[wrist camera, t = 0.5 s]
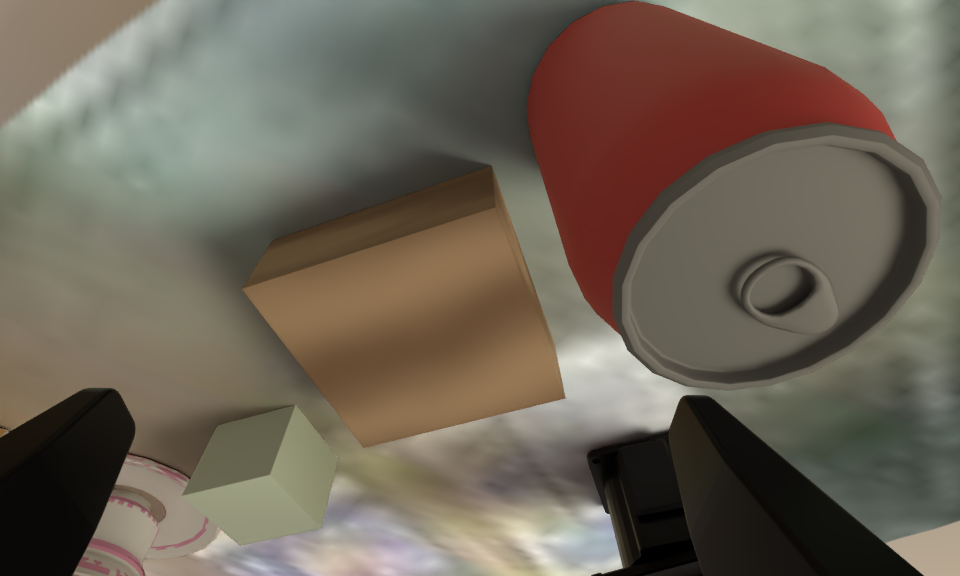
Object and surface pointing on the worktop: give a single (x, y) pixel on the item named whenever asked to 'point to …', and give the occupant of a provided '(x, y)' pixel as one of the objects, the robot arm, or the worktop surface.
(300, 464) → the sage block
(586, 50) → the beer can
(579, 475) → the worktop surface
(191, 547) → the teacup
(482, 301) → the walnut block
